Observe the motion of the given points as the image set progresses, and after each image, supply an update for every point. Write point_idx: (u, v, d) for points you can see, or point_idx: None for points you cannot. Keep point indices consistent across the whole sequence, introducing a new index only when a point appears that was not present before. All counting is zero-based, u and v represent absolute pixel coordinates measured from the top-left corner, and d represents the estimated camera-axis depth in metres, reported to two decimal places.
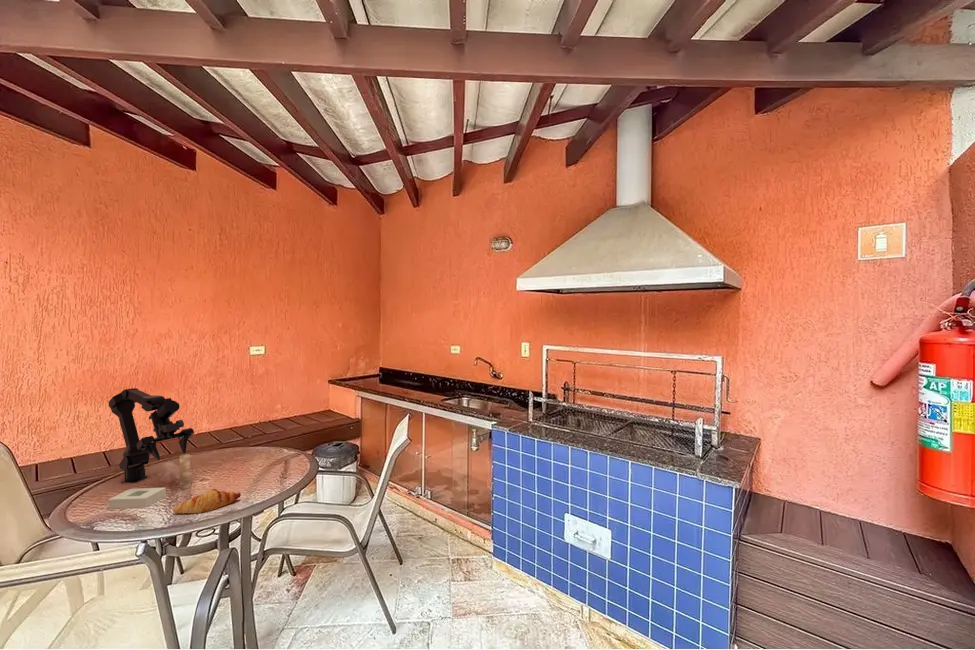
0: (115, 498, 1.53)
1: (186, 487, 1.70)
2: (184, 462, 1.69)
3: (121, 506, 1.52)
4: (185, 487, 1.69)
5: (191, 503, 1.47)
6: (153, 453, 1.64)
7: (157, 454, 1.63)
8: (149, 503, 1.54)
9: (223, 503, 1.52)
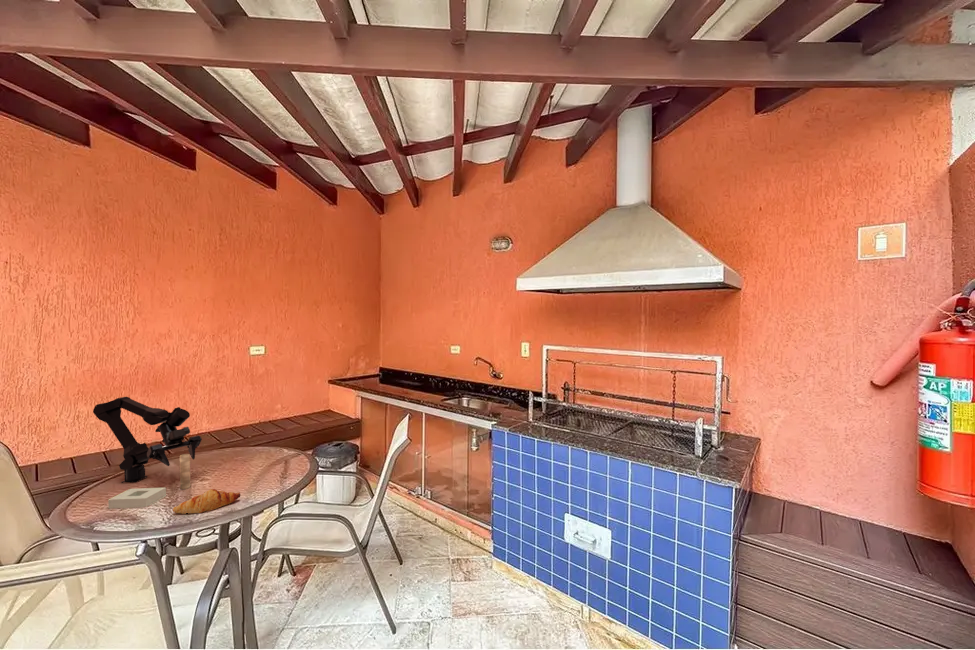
0: (115, 498, 1.53)
1: (186, 487, 1.70)
2: (184, 462, 1.69)
3: (121, 506, 1.52)
4: (185, 487, 1.69)
5: (191, 503, 1.47)
6: (163, 460, 1.69)
7: (166, 460, 1.69)
8: (149, 503, 1.54)
9: (223, 503, 1.52)
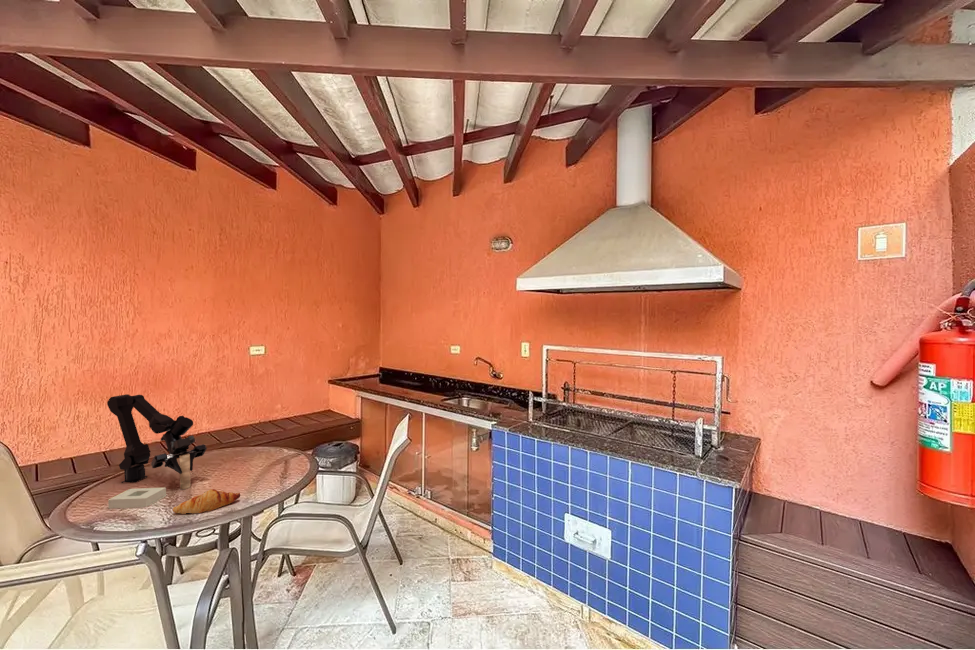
0: (115, 498, 1.53)
1: (186, 487, 1.70)
2: (184, 462, 1.69)
3: (121, 506, 1.52)
4: (185, 487, 1.69)
5: (190, 503, 1.47)
6: (175, 468, 1.69)
7: (179, 468, 1.68)
8: (149, 503, 1.54)
9: (222, 503, 1.51)
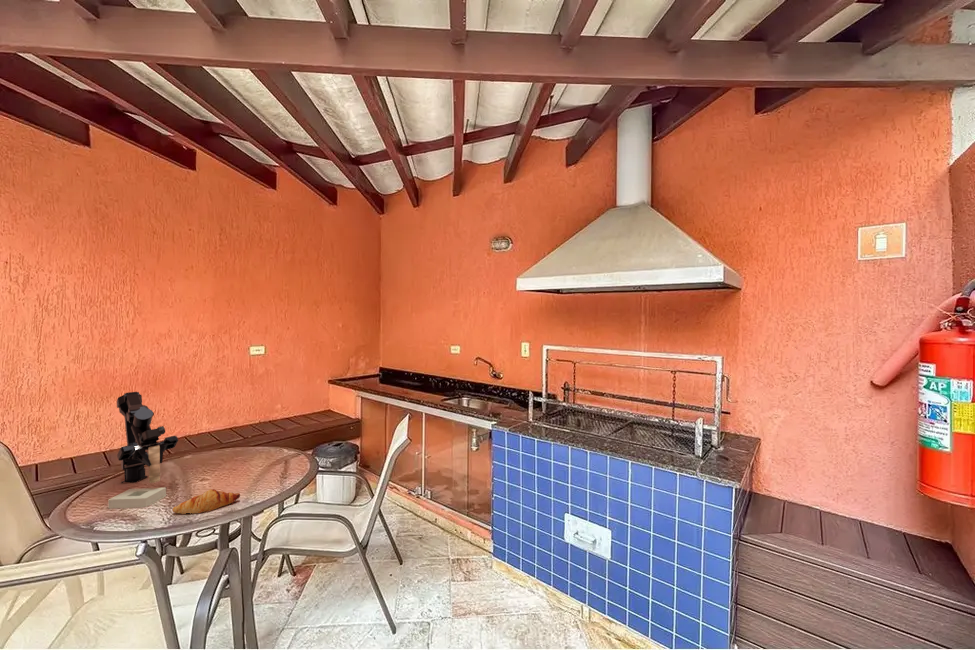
0: (115, 498, 1.53)
1: (155, 480, 1.61)
2: (154, 454, 1.60)
3: (121, 506, 1.52)
4: (154, 480, 1.60)
5: (190, 503, 1.47)
6: (143, 460, 1.60)
7: (147, 460, 1.59)
8: (149, 503, 1.54)
9: (222, 504, 1.51)
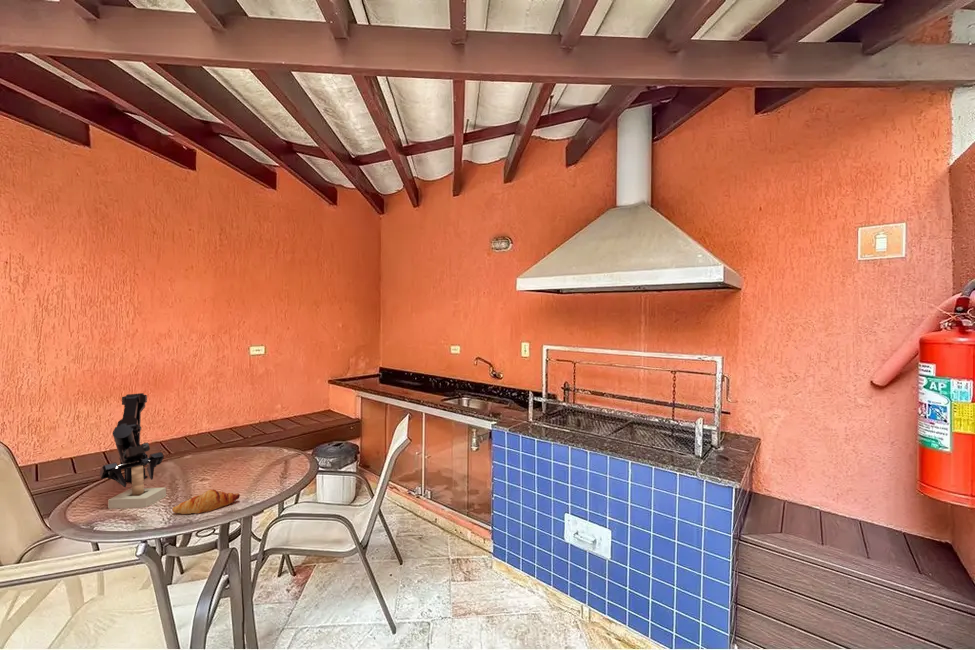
0: (115, 498, 1.53)
1: None
2: (137, 474, 1.56)
3: (121, 506, 1.52)
4: None
5: (189, 503, 1.47)
6: (119, 480, 1.53)
7: (123, 480, 1.53)
8: (149, 503, 1.54)
9: (221, 504, 1.51)
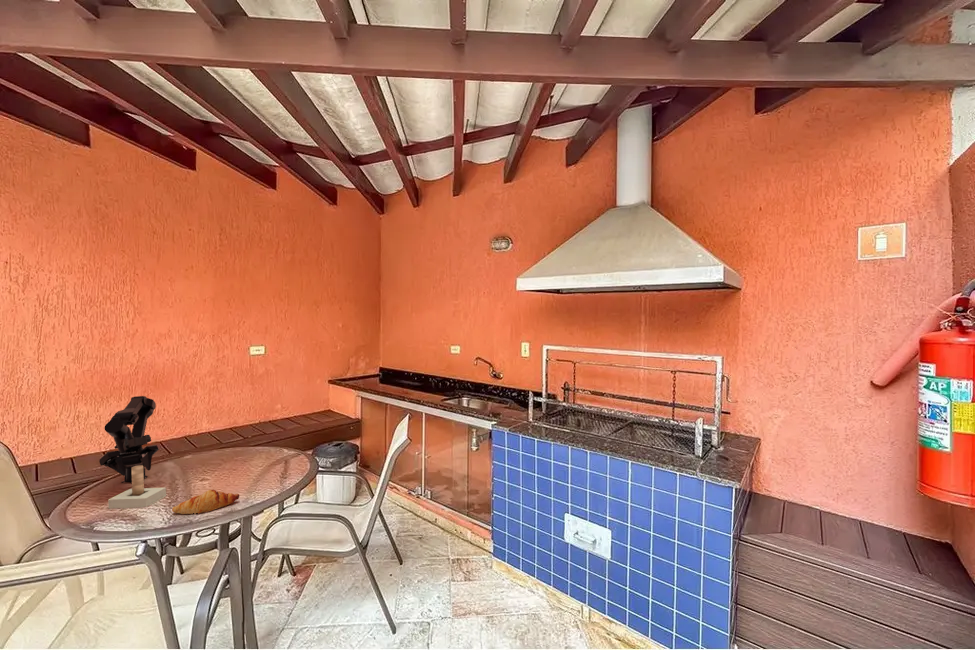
0: (115, 498, 1.53)
1: None
2: (137, 474, 1.56)
3: (121, 506, 1.52)
4: None
5: (189, 503, 1.46)
6: (118, 468, 1.59)
7: (123, 469, 1.59)
8: (149, 503, 1.54)
9: (221, 504, 1.51)
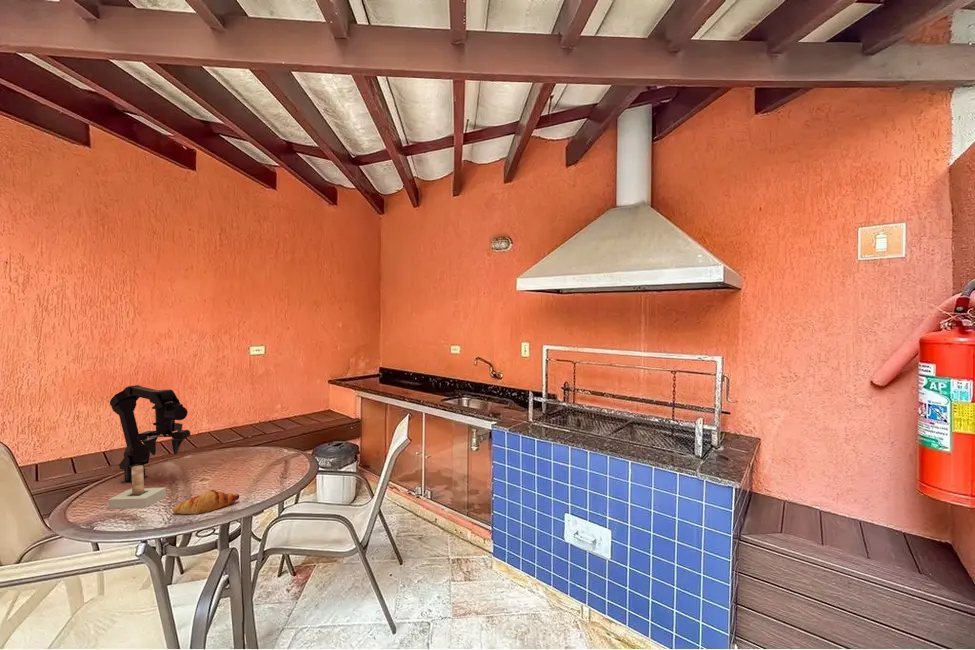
0: (115, 498, 1.53)
1: None
2: (137, 474, 1.56)
3: (121, 506, 1.52)
4: None
5: (189, 504, 1.46)
6: (177, 446, 1.75)
7: None
8: (149, 503, 1.54)
9: (220, 505, 1.50)
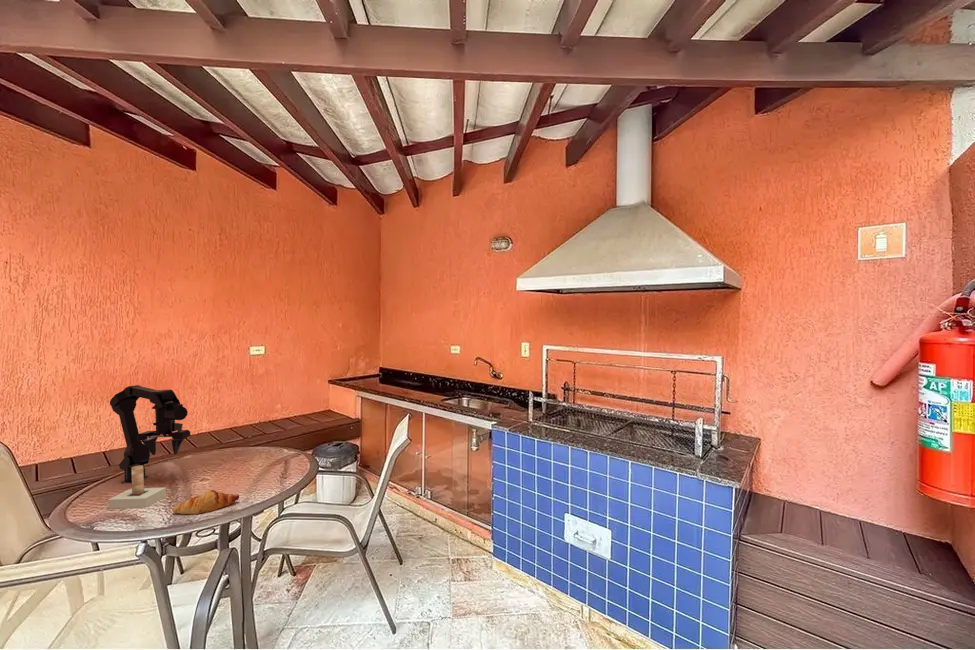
0: (115, 498, 1.53)
1: None
2: (137, 474, 1.56)
3: (121, 506, 1.52)
4: None
5: (188, 504, 1.46)
6: (177, 446, 1.75)
7: None
8: (149, 503, 1.54)
9: (220, 505, 1.50)
